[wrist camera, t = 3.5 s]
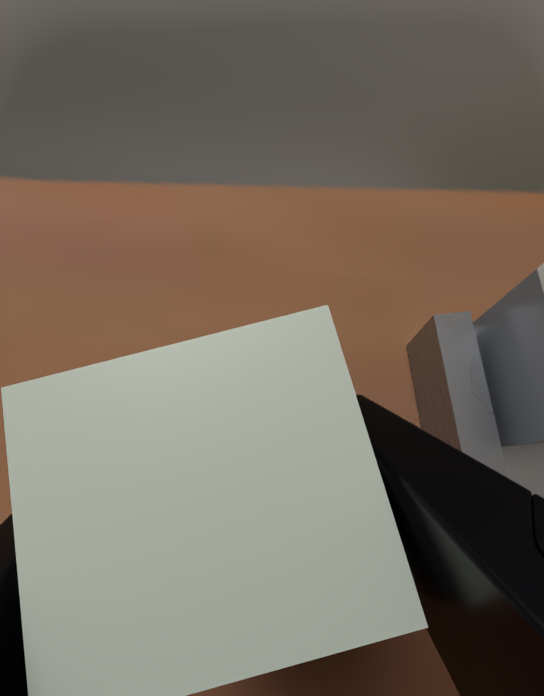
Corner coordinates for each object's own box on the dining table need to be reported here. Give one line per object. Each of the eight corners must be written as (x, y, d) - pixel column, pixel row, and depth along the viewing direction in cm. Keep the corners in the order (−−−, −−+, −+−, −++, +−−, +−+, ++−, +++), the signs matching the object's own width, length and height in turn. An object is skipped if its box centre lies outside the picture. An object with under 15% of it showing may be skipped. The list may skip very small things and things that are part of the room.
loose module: (343, 534, 14) (434, 631, 5) (194, 574, 14) (27, 744, 5) (306, 403, 15) (329, 301, 6) (169, 439, 15) (-3, 385, 6)
